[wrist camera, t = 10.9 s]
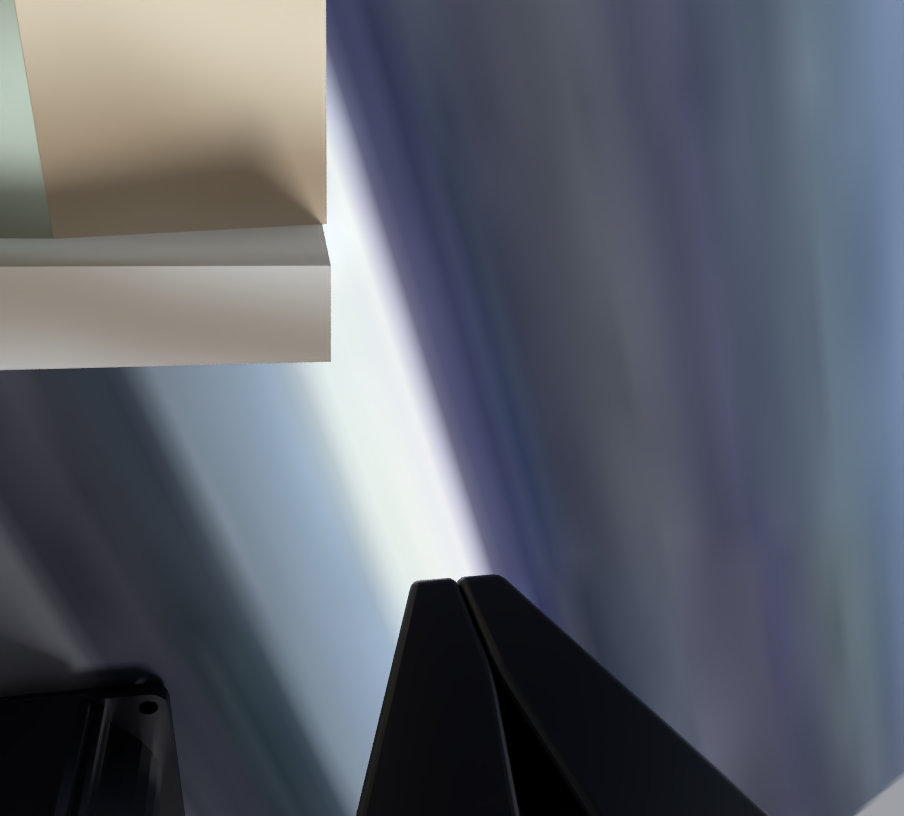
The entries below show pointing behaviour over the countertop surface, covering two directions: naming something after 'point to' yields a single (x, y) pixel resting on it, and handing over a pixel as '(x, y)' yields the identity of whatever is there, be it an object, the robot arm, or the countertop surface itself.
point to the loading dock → (163, 183)
